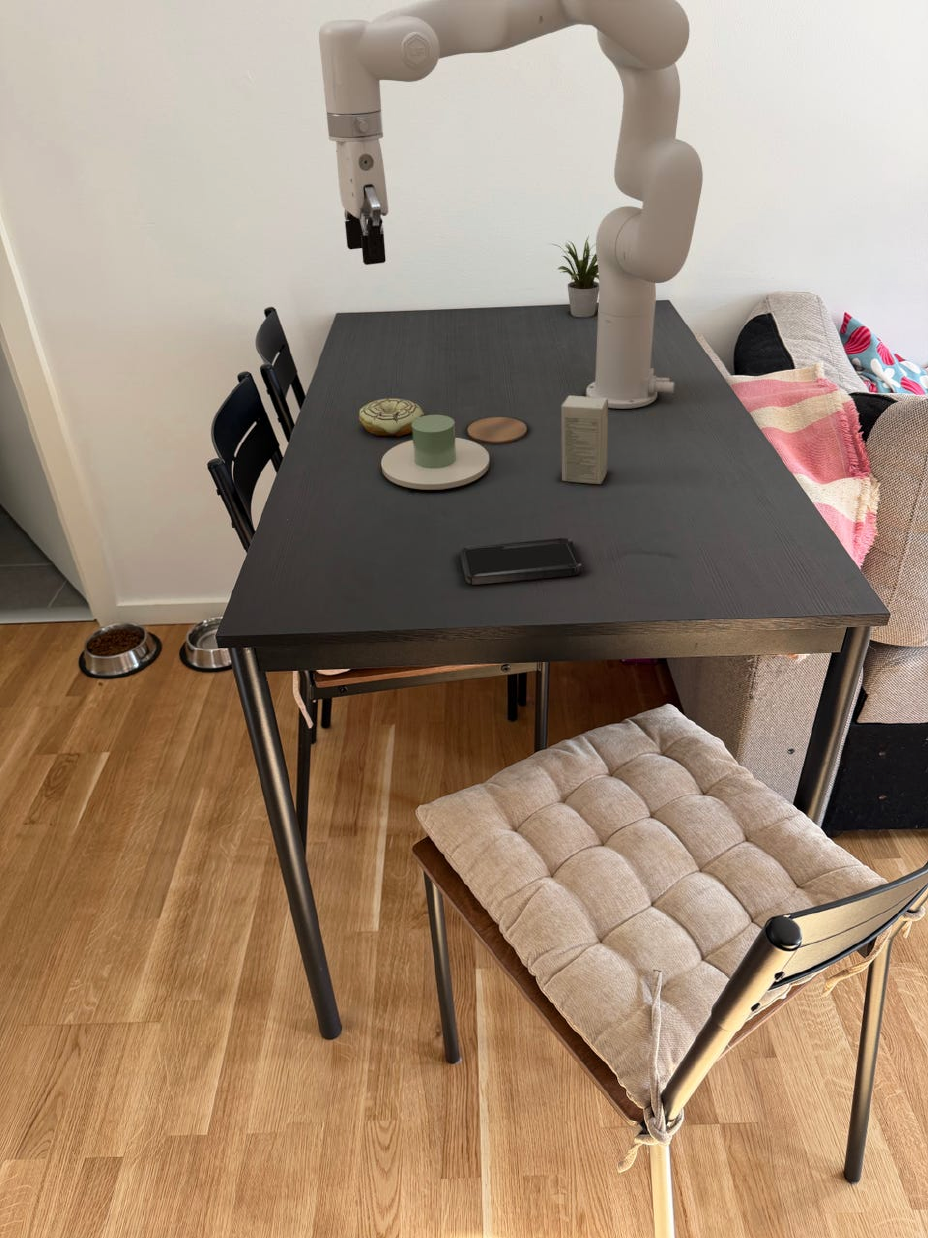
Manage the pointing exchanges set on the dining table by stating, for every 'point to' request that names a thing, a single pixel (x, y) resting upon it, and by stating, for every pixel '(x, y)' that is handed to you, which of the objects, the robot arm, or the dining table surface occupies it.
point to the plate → (409, 474)
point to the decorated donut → (390, 416)
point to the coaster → (497, 430)
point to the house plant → (582, 282)
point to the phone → (520, 561)
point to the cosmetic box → (584, 439)
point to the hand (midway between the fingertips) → (366, 255)
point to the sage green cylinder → (434, 441)
